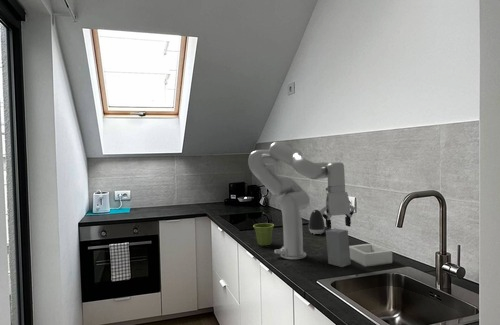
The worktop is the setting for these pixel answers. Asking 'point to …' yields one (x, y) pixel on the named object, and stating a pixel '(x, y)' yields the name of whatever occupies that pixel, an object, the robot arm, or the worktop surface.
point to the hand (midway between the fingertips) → (338, 227)
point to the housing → (370, 254)
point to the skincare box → (338, 247)
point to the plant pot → (264, 233)
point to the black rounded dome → (316, 222)
